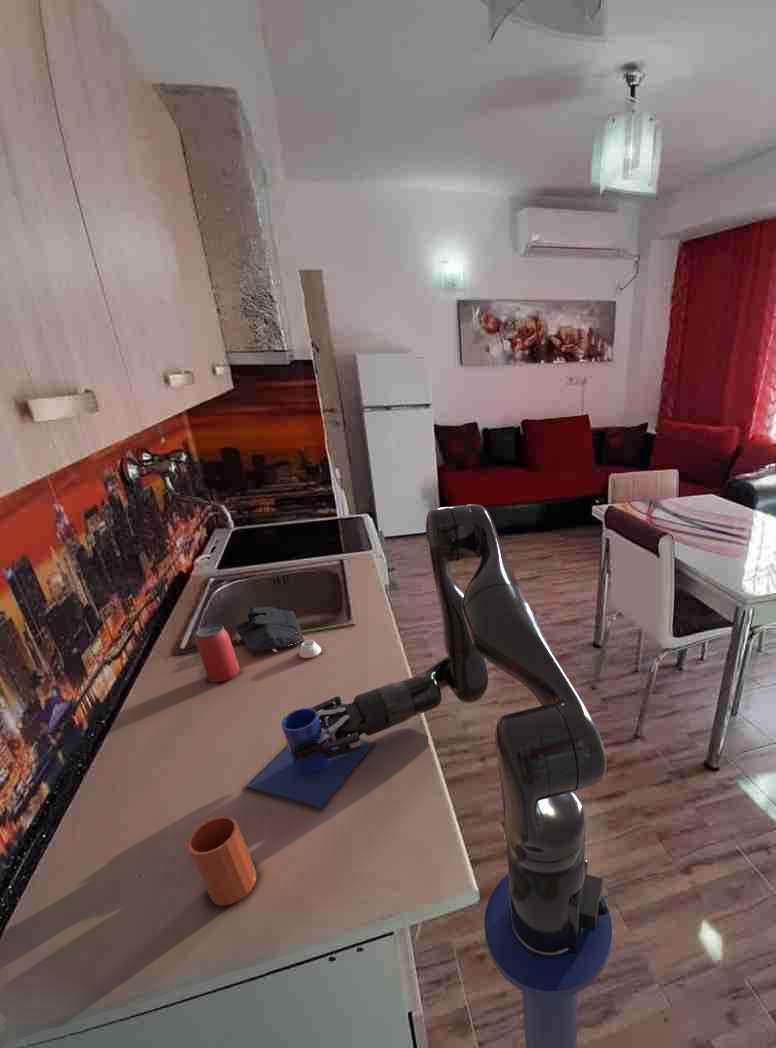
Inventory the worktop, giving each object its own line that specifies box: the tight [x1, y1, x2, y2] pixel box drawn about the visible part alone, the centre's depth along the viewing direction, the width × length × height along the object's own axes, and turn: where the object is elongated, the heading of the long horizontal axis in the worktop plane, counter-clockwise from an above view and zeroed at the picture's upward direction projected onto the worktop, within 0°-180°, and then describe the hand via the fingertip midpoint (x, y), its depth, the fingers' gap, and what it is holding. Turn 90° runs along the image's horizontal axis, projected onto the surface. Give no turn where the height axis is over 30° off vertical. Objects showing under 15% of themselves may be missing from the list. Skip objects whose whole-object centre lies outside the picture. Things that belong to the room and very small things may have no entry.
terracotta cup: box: [186, 815, 257, 906], centre depth 68 cm, size 6×6×10 cm
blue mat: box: [247, 732, 373, 809], centre depth 90 cm, size 15×15×1 cm
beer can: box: [195, 624, 241, 683], centre depth 116 cm, size 7×7×12 cm
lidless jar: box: [298, 639, 322, 659], centre depth 124 cm, size 5×3×5 cm
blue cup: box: [281, 707, 329, 776], centre depth 88 cm, size 6×6×10 cm
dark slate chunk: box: [235, 606, 305, 654], centre depth 133 cm, size 15×22×5 cm
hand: (290, 742), depth 87 cm, fingers closed on blue cup, 6 cm apart
